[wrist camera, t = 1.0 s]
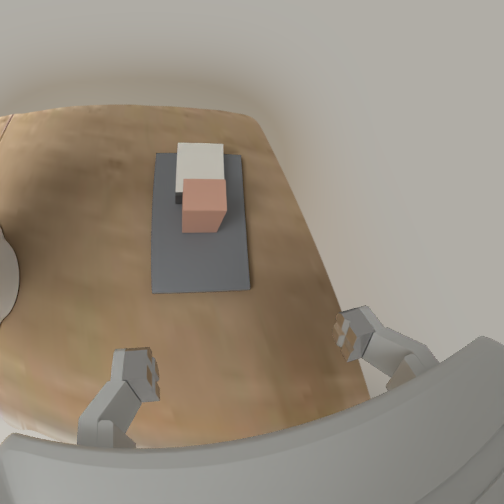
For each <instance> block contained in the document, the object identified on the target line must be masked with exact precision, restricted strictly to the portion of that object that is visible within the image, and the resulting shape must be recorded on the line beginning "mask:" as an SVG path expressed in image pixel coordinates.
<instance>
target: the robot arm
mask: <svg viewBox="0 0 504 504" xmlns="http://www.w3.org/2000/svg"><path fill="white" fill-rule="evenodd" d="M18 287H19V268H18V262H17V258H16V255H15V253H14V250H13V249H12V247H11V246H10V244H9V243H8V242H7V241H6V240H5V238H4V236H3V233H2V230H1V227H0V323H1V321H2V320H3V319H4V318H5V317H6V316H7V315H8V314H9V312H10V311H11V309H12V307H13V305H14V303H15V300H16V297H17V293H18ZM335 320H336V321H337V322H336V323H335V324H334V326H333V329H332V335H333V339H334V341H335V343H336V345H338V346H340V347H341V354H342V355H343V357H344V359H345V360H346V362H350V361H353V360H356V359H359V358H362V359H364V360H365V361H367V362H368V363H370V364H372V365H373V366H374V367H376V368H377V369H379V370H380V371H382V372H383V373H385V374H387V375H388V376H390V377H391V379H390V380H389V382H388V383H387V385H386V388H387V390H388V391H387V392H385V393H383V394H381V395H379V396H377V397H374V398H372V399H370V400H367V401H365V402H363V403H360V404H358V405H355V406H353V407H350V408H348V409H345V410H343V411H340V412H337V413H334V414H332V415H329V416H326V417H323V418H320V419H317V420H314V421H311V422H307V423H304V424H301V425H297V426H294V427H290V428H287V429H283V430H279V431H275V432H271V433H267V434H262V435H258V436H253V437H248V438H243V439H237V440H232V441H225V442H219V443H212V444H204V445H195V446H184V447H170V448H136V443H135V442H134V441H133V440H132V439H130V438H129V437H128V436H127V435H126V434H125V433H126V431H127V429H128V428H129V426H130V424H131V422H132V420H133V418H134V417H135V415H136V413H137V411H138V409H139V408H140V406H141V404H142V403H141V402H152V401H160V388H159V386H158V384H157V381H158V380H159V370H158V365H157V362H156V360H155V358H153V357H152V351H151V349H150V347H142V348H126V349H115V351H114V355H113V363H112V371H111V381H107V383H106V384H105V385H104V386H103V388H102V389H101V390H100V391H99V393H98V394H97V395H96V396H95V398H94V399H93V400H92V402H91V403H90V404H89V405H88V407H87V408H86V409H85V411H84V412H83V413H82V415H81V416H80V417H79V423H78V435H77V445H76V444H68V443H62V442H56V441H50V440H45V439H39V438H35V437H30V436H27V435H23V434H19V433H12V434H10V435H9V436H8V437H7V438H6V439H5V440H4V441H3V442H2V443H1V444H0V504H504V346H503V345H502V344H501V343H499V342H497V341H495V340H493V339H490V338H488V337H485V336H480V337H478V338H477V339H475V340H474V341H472V342H471V343H470V344H468V345H467V346H465V347H464V348H462V349H461V350H459V351H458V352H456V353H455V354H453V355H452V356H450V357H449V358H447V359H446V360H444V361H443V362H441V363H439V362H438V360H437V359H436V358H435V356H434V355H433V354H432V352H431V351H430V350H429V349H428V347H427V346H426V345H424V344H422V343H420V342H418V341H416V340H413V339H411V338H409V337H407V336H405V335H403V334H401V333H398V332H396V331H394V330H392V329H390V328H388V327H387V328H385V327H384V326H383V325H382V324H381V322H380V321H379V320H378V318H377V317H376V316H375V314H374V313H373V312H372V311H371V309H370V308H369V307H368V306H366V305H365V306H361V307H358V308H354V309H350V310H347V311H343V312H339V313H338V314H337V315H336V318H335Z"/></svg>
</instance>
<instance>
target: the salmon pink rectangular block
mask: <svg viewBox="0 0 504 504" xmlns="http://www.w3.org/2000/svg"><path fill="white" fill-rule="evenodd" d="M226 212H227V199H226V180H225V179H184V180H183V198H182V233H214V232H217V231H218V228H219V226H220V224H221V222H222V220H223V218H224V216H225V214H226Z"/></svg>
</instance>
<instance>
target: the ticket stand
mask: <svg viewBox="0 0 504 504" xmlns="http://www.w3.org/2000/svg"><path fill="white" fill-rule="evenodd" d="M184 179H225V180H226V199H227V212H226V214H225V216H224V218H223V220H222V222H221V224H220V226H219V228H218V231H217V232H214V233H182V198H183V180H184ZM151 278H152V293H153V294H164V293H197V292H222V291H242V290H250V279H249V266H248V252H247V237H246V223H245V209H244V194H243V180H242V165H241V155H231V154H223V144H211V143H178V150H177V153H156V162H155V174H154V187H153V204H152V231H151Z"/></svg>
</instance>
